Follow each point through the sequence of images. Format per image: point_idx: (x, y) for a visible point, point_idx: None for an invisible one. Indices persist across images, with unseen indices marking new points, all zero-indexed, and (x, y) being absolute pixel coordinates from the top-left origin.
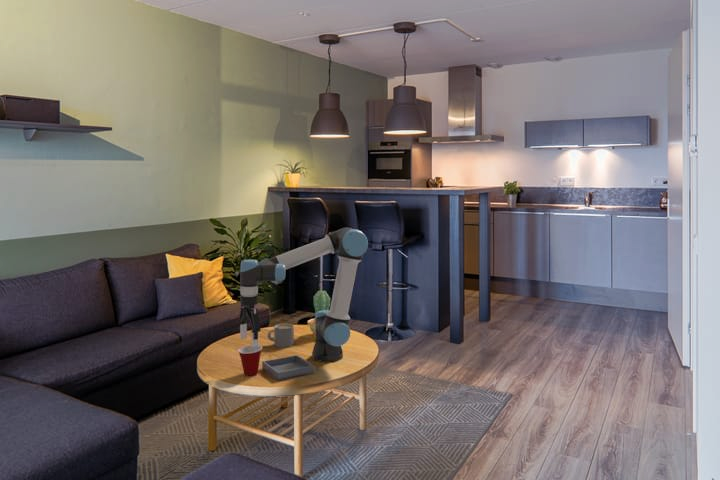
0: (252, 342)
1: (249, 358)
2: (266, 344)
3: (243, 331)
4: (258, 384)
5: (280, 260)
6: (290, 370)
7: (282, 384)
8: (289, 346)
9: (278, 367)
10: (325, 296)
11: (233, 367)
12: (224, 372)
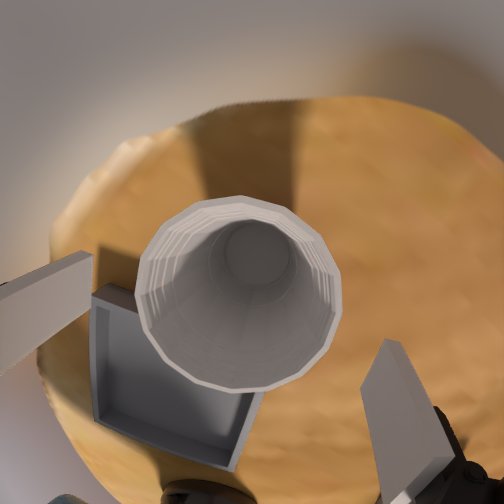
0: (54, 264)
1: (185, 238)
2: None
3: (391, 412)
4: (123, 197)
5: None
6: (89, 346)
7: None
8: (377, 500)
9: None
10: None
11: (405, 253)
12: (381, 175)
